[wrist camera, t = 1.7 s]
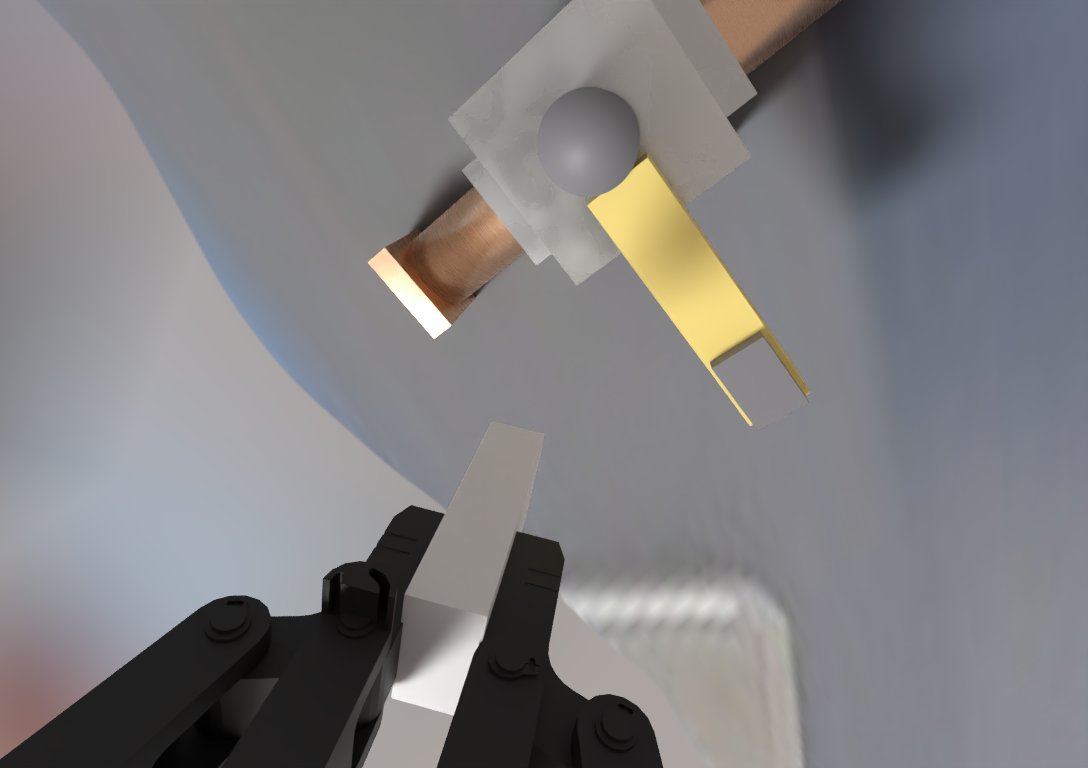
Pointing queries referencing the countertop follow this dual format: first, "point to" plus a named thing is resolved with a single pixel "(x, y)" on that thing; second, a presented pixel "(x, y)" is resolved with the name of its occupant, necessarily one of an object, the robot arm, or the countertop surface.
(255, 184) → the countertop surface
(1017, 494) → the countertop surface
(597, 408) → the countertop surface
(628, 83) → the valve body
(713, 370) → the lever
